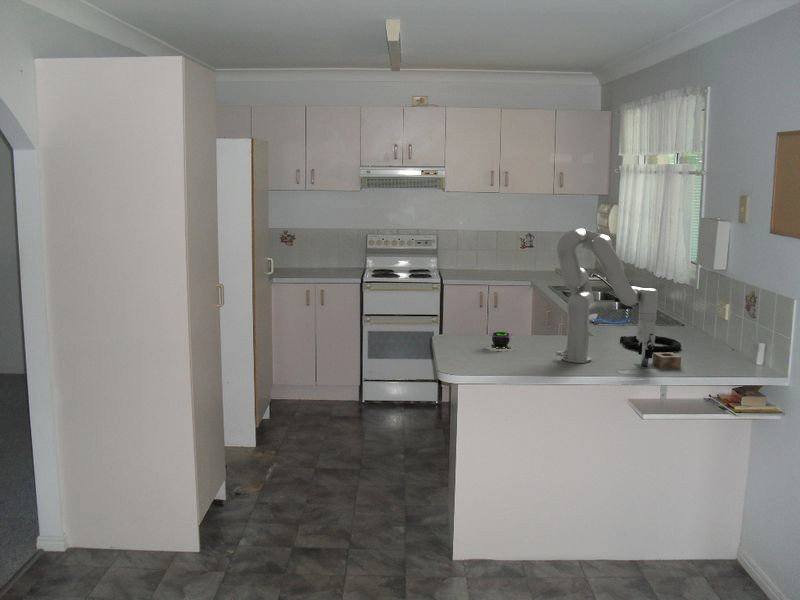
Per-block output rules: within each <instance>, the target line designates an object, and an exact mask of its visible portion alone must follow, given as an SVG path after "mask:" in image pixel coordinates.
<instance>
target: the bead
mask: <svg viewBox="0 0 800 600" xmlns="http://www.w3.org/2000/svg"><path fill="white" fill-rule="evenodd" d="M651 361H652V364H654V365H656V366H657V367H659V368H666V369H682V368H681V367H682V366H681V364H682V356H680V355H679V354H677V353H675V352H663V353H652V360H651Z"/></svg>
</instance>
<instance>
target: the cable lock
mask: <svg viewBox="0 0 800 600" xmlns="http://www.w3.org/2000/svg"><path fill="white" fill-rule="evenodd" d="M619 342H620V343H621V344H623V346H624V347H625V348H626V349H627V348H628V349H629V350H632V351H636V352H638V350H639V346H640V345H639V341H638V340H637V338H636V335H632V336H631V335H629V336H626V335H621V336H620V337H619ZM655 344H662V345H654V347H653V353H663V352H673V353H675V352H674V351H676V352H679V351H680V350H681V348H682V344H681V342H679V341H678V340H676V339H673V338H669V337H666V336H658V335H655ZM666 344H667V345H666ZM653 353H652V354H653Z"/></svg>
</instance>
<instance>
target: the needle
mask: <svg viewBox="0 0 800 600" xmlns="http://www.w3.org/2000/svg"><path fill="white" fill-rule="evenodd" d="M648 342H650V341H648ZM648 346H649V344H648ZM645 349H646V343H642V355H641V361H640V362H641V363H640V364H641V366H642V367H648V364H649V359H650V358H645Z"/></svg>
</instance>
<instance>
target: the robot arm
mask: <svg viewBox="0 0 800 600" xmlns="http://www.w3.org/2000/svg"><path fill="white" fill-rule="evenodd" d="M578 248H581V249H586V250H589V251H591V252H592V254H593V255H594V257H595V259H596V261H598V263H599V265H600V267H601V268H602V270H603V272H604V273H605V276H606V278H607V281H608V282H609V284H610V287H611V289H612V290H613V292H614V293H615V295H616V297H617V298H618V300H619V301H620V302H621V303H622V304H623V306H624V305H625V306H627V307H631V306H633V305H635V304H637V303H639V305H638V322H637V327H636V335H635V336H636V338H637V340H638V341H639V342H638V344H639V345H640V346H639V350H638V351H637V352H638V354H637V355H640V356H642V343H646V349H645V358H649V359H653V347H654V346H655V344H656V343H655V336H656V321H657V318H658V317H657V313H658V300H659V299H658V298H659V297H658V296H659V292H658V290H657V289H656V288H649V287H648V288H646V287H645V288H644V287H638V286H632V285H631V284H630V282H629V279H628V278H627V275H626V273H625V269H624V263H623V262H622V260H621V259H620V257H619V255H618V254H617V252H616V251H615V249H614V247H613V241H612V238H610V236H609V235H606V234H603V233H599V232H595V231H592V230H589V229H585V228H573V229H571V230H567V232H565V233H564V234H563V235H562V236H561V237H560V238H559V240H558V242H557V246H556V253H557V258H558V263H559V266H560V267H559V268H560V271H561V275H562V280H563V283H564V286H565V287H566V288H567V289H569V290H570V292H571V295H570V297H569V298H568V299H567V331H566V332H567V333H566V334H567V335H566V337H567V338H566V348H564V350H563V351H555V354H556V356H557V357H559V356H560V357H562V359H563V361H565V362H568V363H575V364H576V363H578V364H584V363H585V364H586V363H589V362H591V361H592V358H591V357H590V356H589V355H588V354H589V353H588V351H589V335H590V334H589V332H590V308H591V307H592V306H593V304H594V302H595V298H594V293H593V289H592V286H591V285H592V284H591V282H590V277H589V274H588V272H587V271H586V270H585V268H582V267H581V265H580V261H579V257H578V255H577V249H578ZM648 341H650V342H648ZM648 344H649V346H648Z"/></svg>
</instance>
